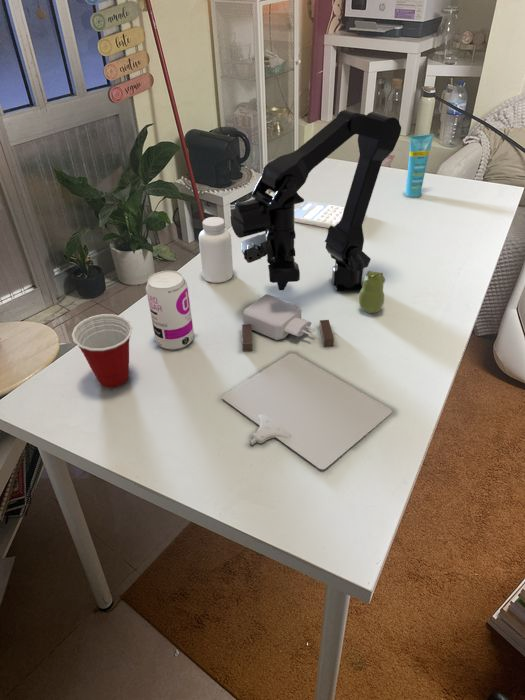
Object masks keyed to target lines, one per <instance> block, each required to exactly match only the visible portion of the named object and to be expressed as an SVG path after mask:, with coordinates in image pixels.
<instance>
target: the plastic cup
mask: <svg viewBox="0 0 525 700" xmlns="http://www.w3.org/2000/svg"><path fill="white" fill-rule="evenodd" d="M133 328H134V327H133V325H132V323H131V321H130V320H129V319H127V318H125V317H124V316H122V315H118V314H114V313H102V314H96V315H92V316H89V317H87V318H85V319H82V320H81V321H80V322H79V323H78V324H77V325H75V326H74V327H73V331H72V333H71V337H72V340H73V342H74V344H76V345H77V347H78V349H80V351H81V353H82V354H83V356H84V358H85V360H86V361H87V363H88V365H89V367H90V370H91V371H92V373H93V374H94V376H95V378H96V380H97V382H98V383H99V385H101V386H102V387H103V388H108V389H111V388H112V389H113V388H114V389H115V388H117V387H121V386H122V385H124V384H125V383H126V382H127V381H128V379H129V377H130V376H129V375H130V340H131V339H130V338H131V336H132V334H133V333H132V332H133Z"/></svg>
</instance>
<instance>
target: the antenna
mask: <svg viewBox="0 0 525 700" xmlns="http://www.w3.org/2000/svg"><path fill="white" fill-rule="evenodd" d="M221 399H222V400H223V401H224V402H226V403H227V404H229V405H230V406H232V407H233V408H234V409H236V410H237V411H238V412H240V413H241V414H243V415H244V416H246V417H247V418H248V419H250V420H251V421H252V422H253V423H255V424H256V425H258V429H257V430H255V431H254V432H253V433H252V434H251V437H252V439H250V440H249V444H250V445H251V446H253V445H255V444H256V443H258V444H263V443H265V442H267V441H268V440H271V439H277V440H279V441H280V442H281V443H283V444H284V445H286V446H287V447H288V448H290V449H291V450H292V451H294V452H295V453H296V454H298V455H299V456H301V457H302V458H303V459H305V460H306V461H308V462H309V463H310V464H312V465H313V466H314V467H316V468H317V469H318V470H326V469H327V468H329V467H330V466H331V465H332V464H333V463H335V461H337V460H338V459H339V458H340V457H342V456H343V455H344V454H345V453H346V452H347V451H348V450H350V449H351V448H352V447H353V446H355V445H356V444H357V443H358V442H359V441H361V440H362V439H363V438H364V437H365V436H366V435H368V434H369V433H370V432H372V430H374V429H375V428H376V427H377V426H378V425H380V424H381V423H382V422H383V421H384V420H386V419H387V418H388V417H389V416H390V415H391V414H392V413H393V411H392V409H391V408H389V407H388V406H387V405H384V404H382V403H380V402H379V401H377V400H375V399H374V398H372V397H370V396H368V395H367V394H366V393H363V392H362V391H360V390H358V389H357V388H355V387H353V386H351V385H349V384H348V383H346V382H345V381H342V380H341V379H339V378H337V377H335V376H334V375H333V374H331V373H329V372H327V371H325V370H323V369H321V368H320V367H318V366H317V365H315V364H313V363H311V362H310V361H307V359H304V358H303V357H301V356H299V355H298V354H296V353H291V352H290V353H289V354H287V355H285V356H283V357H282V358H281V359H279V360H277V361H275V362H274V363H272V364H271V365H269V366H267V367H266V368H264V369H263V370H261V371H260V372H258V373H256V374H255V375H253V376H251V377H250V378H248V379H247V380H245V381H243V382H242V383H241V384H240V383H239V384H238V385H237V386H235V387H234V388H232V389H230V390H229V391H227V392H225V393H224V394H223V395H222V396H221Z"/></svg>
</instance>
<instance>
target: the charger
mask: <svg viewBox="0 0 525 700" xmlns="http://www.w3.org/2000/svg"><path fill="white" fill-rule="evenodd" d="M242 317H243V318H242V319H243V320H242V321H243V325H246V324H251V331H255V332H257V333H259V334H261V335H264V336H266V337H269V338H271V339H273V340H275V341H278V340H283V339H285V338H286V337H287V336H288V335H289V334H290V335H293V336H294V337H298V338H299V337H302V336H303V335H305V334H306V335H308V336H311V334H312V333H311V332H309V331H308V330H310V331H313V332H315V331H316V329H315V328H313V327H311V325H312V321H309V320H308V319H304V318H302V308H301V306H300V305H298V304H294V303H292V302H290V301H288V300H285V299H282V298H279V297H277V296H273V295H271V294H268V293H266V294H264V295H262V297H260V298H258V299H257V300H256V301H254V302H252V303H251V304H250V305H248V306H247V307H246V308H245V309H244V311H243V313H242Z"/></svg>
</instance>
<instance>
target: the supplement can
mask: <svg viewBox="0 0 525 700" xmlns="http://www.w3.org/2000/svg"><path fill="white" fill-rule="evenodd" d="M145 293H146V297H147V303H148V307H149V313H150V318H151V323H152V329H153V335H154V339H155V342H156V344H157V345H158V346H159V347H161V348H163V349H166V350H170V351H171V350H172V351H174V350H180V349H183V348H185V347H187V346H188V345H189V344H190V343H191V342H192V341H193V339H194V338H195V337H194V336H195V332H194V325H193V317H192V309H191V302H190V294H189V286H188V282H187V280H186V279H185V277H184V276H183V274H182V273H180V272H179V271H175V270H162V271H158V272H155V273H153V274H151V275H150V276H149V277H148V279H147V283H146V286H145Z"/></svg>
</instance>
